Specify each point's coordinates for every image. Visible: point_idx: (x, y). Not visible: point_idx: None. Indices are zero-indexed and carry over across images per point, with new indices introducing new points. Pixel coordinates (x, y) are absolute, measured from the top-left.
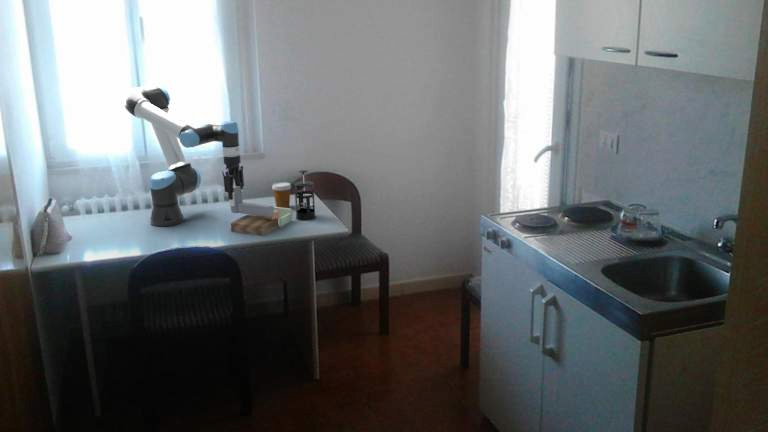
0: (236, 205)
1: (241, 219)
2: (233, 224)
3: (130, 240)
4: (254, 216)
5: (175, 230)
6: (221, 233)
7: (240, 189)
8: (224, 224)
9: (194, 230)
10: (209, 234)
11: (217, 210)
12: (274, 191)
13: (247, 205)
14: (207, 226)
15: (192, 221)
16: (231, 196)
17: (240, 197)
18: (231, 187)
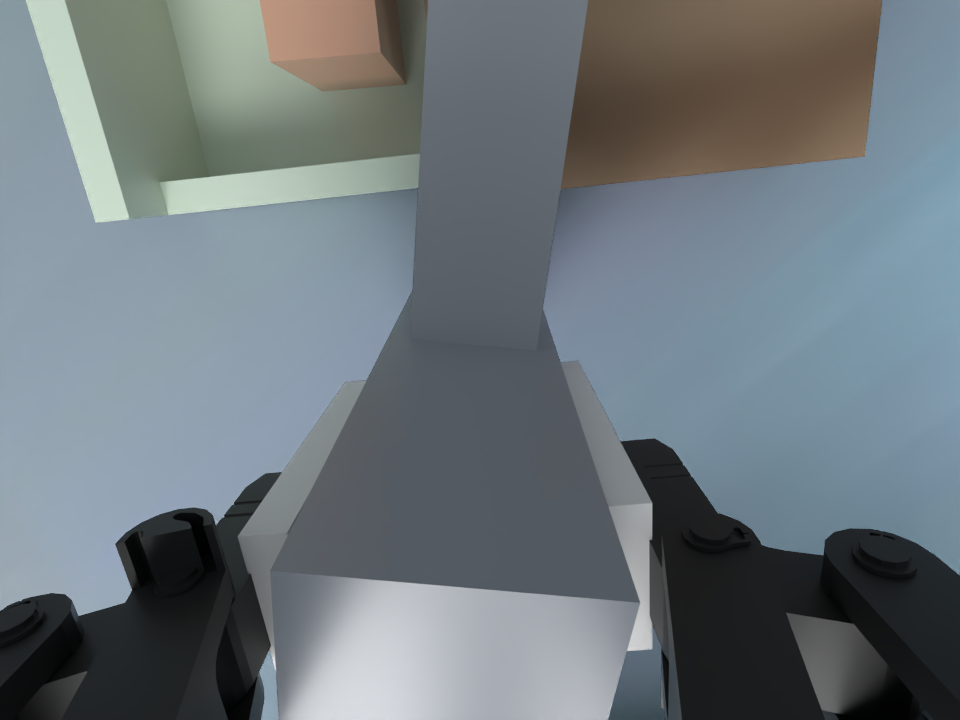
0: (548, 342)
1: (669, 113)
2: (858, 103)
3: None
4: None
5: None
6: (893, 214)
7: (328, 487)
8: (600, 399)
9: (864, 526)
10: (954, 313)
11: (277, 716)
12: None
13: (582, 20)
14: (716, 502)
15: (632, 695)
16: (664, 478)
17: (410, 380)
18: (801, 669)
